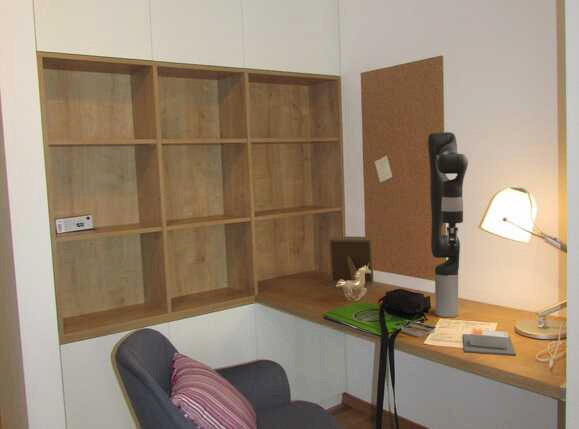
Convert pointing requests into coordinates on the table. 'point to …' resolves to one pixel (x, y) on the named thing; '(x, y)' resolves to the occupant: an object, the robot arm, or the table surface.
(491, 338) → the skincare box
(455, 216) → the robot arm
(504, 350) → the charcoal mat
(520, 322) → the table surface
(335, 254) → the photo frame
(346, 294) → the unicorn
